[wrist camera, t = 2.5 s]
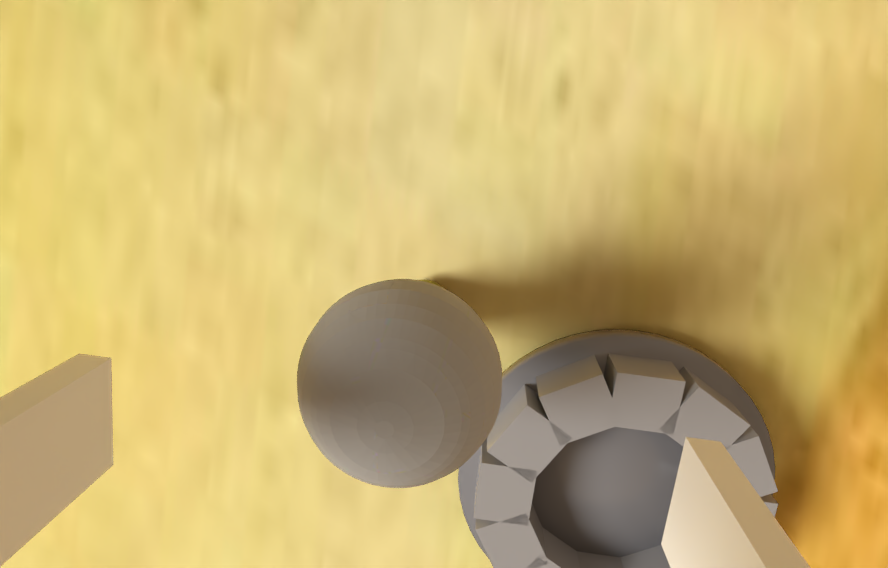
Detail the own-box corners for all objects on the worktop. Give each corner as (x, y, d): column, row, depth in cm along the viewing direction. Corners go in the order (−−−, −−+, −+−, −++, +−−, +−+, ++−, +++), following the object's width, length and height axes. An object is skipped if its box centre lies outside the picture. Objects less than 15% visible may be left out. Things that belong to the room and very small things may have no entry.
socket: (479, 310, 24) (477, 333, 22) (801, 351, 24) (837, 380, 21) (443, 576, 27) (439, 622, 25) (727, 617, 27) (751, 669, 24)
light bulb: (386, 387, 25) (323, 558, 16) (333, 260, 24) (228, 360, 14) (518, 345, 24) (537, 497, 15) (469, 211, 23) (455, 283, 14)
